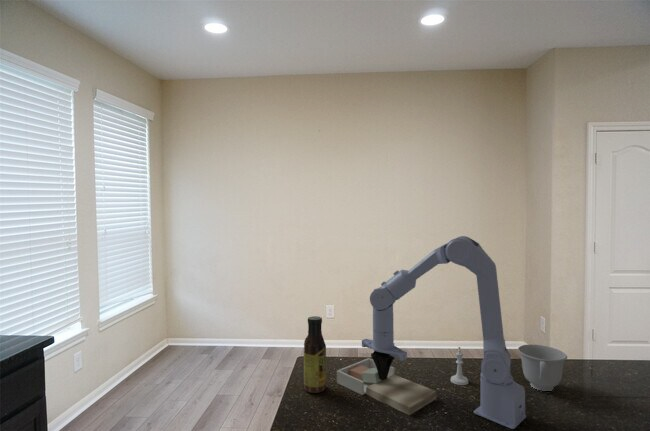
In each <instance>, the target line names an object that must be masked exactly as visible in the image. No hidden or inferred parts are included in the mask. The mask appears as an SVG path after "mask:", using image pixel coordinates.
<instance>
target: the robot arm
mask: <svg viewBox="0 0 650 431" xmlns="http://www.w3.org/2000/svg"><path fill="white" fill-rule="evenodd" d="M450 262H451V263H452V264H456V265H458V266H461V267H464V268H466V270H469V271H470V272H471V273H473V274H474V275H475V276H476V283H477V284H476V285H477V292H478V294H477V295H478V302H479V313H480V319H481V320H480V321H481V331H482V342H483V346H482V348H483V349H482V352H483V358H482V361H481V364H480V371H481V372H480V373H479V374H480V383H479V384H480V387H479V388H480V393H479V394H480V396H479V397H480V405H479V406H478V407H476V409H474V410H473V414H474V415H477V416H480V417H482V418H484V419H487V420H489V421H492V422H494V423H497V424H499V425H501V426H503V427H506V428H508V429H510V430H514V429H516V428H517V427H518V426H519V425H520V424H521V423H522V422H523V421H524V420H525V419H526V418H527V414H526V390H525V387H524V386H523V385H521V384H519V383H517V382H516V381H514V378H513V376H512V374H511V363H512V357H511V356H512V355H511V353H510V352H509V349H508V348H507V346H506V340H505V339H506V338H505V336H504V328H503V320H502V319H503V318H502V310H501V300H500V292H499V290H500V289H499V282H498V272H497V266H496V263H495V262H494V260H492V258H491V257H490V256H489V254H488V253H487V252H486V251H485V250H484V249H483V247H482V246H481V244H480V243H479V242H478V241H476V240H474V239H473V238H471V237H469V236H466V235H462V236H457V237H455V238H453V239H451V240H449V241H448V242H447V243H444V244H442V245H441V246H439V247H437V248H435V249H433V250H432V251H431V252H430V253H428V255H426V256H425V257H424V258H422V259H421V260H420V261H419V262H417V264H415V265H414V266H413V267H411V268H410V269H408V270H407V269H406V270H405V269H401V270H396V271H394V272H393V276H391V278H389V279H388V280H386V281H383V282H381V283H380V286H379V287H377V288H375V289H373V291H372V292H371V293H370V296H369V302H370V305H371V307H372V339H369V338H363V339H361V347H362V348H368V349H370V350H373V352H371V353H370V357H371V359H373V360H374V363H375V365H376V368H377V371H378V375H379V379H381V380H385V379H387V377H388V373H389V369H390V366H391V367H392V364H393V362H394V360H395V359H398V360H399V361H402V362H403V361H406V360H407V357H408V352H407V351H405V350H402V349H401V348H399V347H398V346H396V345H395V343H394V332H395V331H394V304H395V302H396V301H398V300H400V299H401V298H402V297H403V296H405V295H407V294H408V293H409V292H410V291H412V290H413V289H415V288H416V284H417V280H418V279H420V278H421V277H423V275H425V274H426V273H428V272H429V271H431V270H432V269H433V268H435V267H437V266H438V265H441V264H442V265H443V264H447V265H448V264H449V263H450Z"/></svg>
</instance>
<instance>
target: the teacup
mask: <svg viewBox="0 0 650 431" xmlns="http://www.w3.org/2000/svg"><path fill="white" fill-rule="evenodd" d="M517 351H518V352H519V354H520V358H521V367H522V372H523V376H524V377H525V379H526V380H527V381H529V383H530V384H529V385H531V386H530V387H531V388H532V387H533V388H532V389H534V388H535V389H537V390H536V391H538V390H542V391H552V390H553V389H554V390H555V388H554V387H556V386H559V384H560V383H561V381H562V377H563V371H564V364H565V361H566V360H567V359H568V355H567V354H566V353H565V352H563V351H562V350H560V349H557V348H554V347H552V346H547V345H543V344H542V345H541V344H524V345H520V346H519V347H518V348H517ZM535 389H534V390H535ZM554 390H553V391H554ZM542 391H541V392H542ZM553 391H552V392H553Z"/></svg>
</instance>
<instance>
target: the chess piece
mask: <svg viewBox="0 0 650 431" xmlns="http://www.w3.org/2000/svg"><path fill="white" fill-rule="evenodd" d="M457 350H458V352H456V353H455V356H456V359H457V360H456V361H455V363H456V364H457V369H456V374H454V375H452V376H451V377H450V382H451V383H453V384H455V385H458V386H466V385H468V384H469V379H468V378H467V377H466V376H464V374H463V370H462V369H463V368H462V365H463V364H464V361H463V357H464V353H462V350H461V347H460V346H458V348H457Z"/></svg>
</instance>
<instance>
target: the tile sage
mask: <svg viewBox="0 0 650 431" xmlns="http://www.w3.org/2000/svg"><path fill="white" fill-rule="evenodd" d="M362 379H363V382H369V383H378V382H380V381H382V380H381V379H379V375H378V371H377V368H371V369H369V370H366V371H364V372H362Z"/></svg>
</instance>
